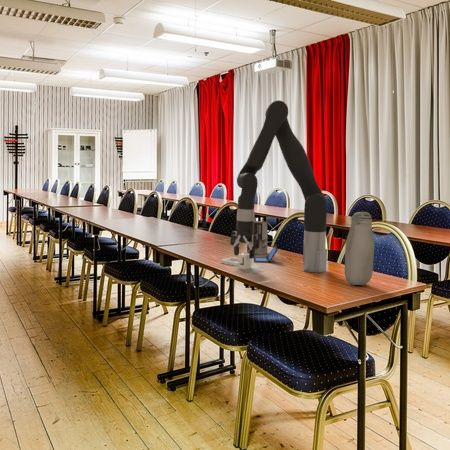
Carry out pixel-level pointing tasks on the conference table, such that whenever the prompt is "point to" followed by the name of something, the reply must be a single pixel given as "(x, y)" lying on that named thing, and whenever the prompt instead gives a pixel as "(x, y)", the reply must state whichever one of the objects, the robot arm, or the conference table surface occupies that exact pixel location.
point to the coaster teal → (244, 269)
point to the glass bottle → (359, 250)
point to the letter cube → (244, 261)
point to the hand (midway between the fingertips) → (243, 256)
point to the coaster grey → (254, 271)
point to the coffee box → (260, 236)
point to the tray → (230, 261)
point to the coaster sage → (256, 266)
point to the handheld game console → (266, 259)
